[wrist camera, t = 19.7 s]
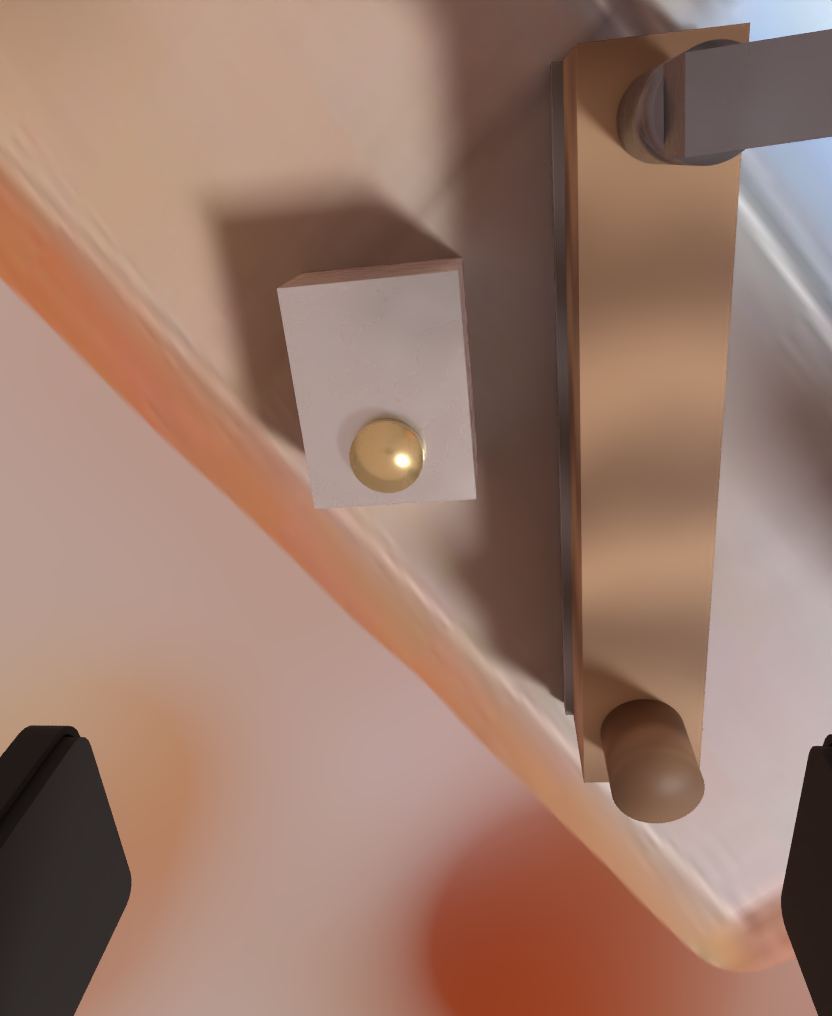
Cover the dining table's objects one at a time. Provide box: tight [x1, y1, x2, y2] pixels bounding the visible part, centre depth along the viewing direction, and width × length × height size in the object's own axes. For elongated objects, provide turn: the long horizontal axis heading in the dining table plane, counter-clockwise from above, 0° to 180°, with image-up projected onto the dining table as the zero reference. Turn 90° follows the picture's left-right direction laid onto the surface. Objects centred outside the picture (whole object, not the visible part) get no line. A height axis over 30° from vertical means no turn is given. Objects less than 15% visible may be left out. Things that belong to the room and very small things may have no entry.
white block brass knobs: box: [277, 257, 478, 509], centre depth 28 cm, size 8×6×5 cm
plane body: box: [550, 23, 750, 823], centre depth 27 cm, size 26×5×8 cm, turn 5°
